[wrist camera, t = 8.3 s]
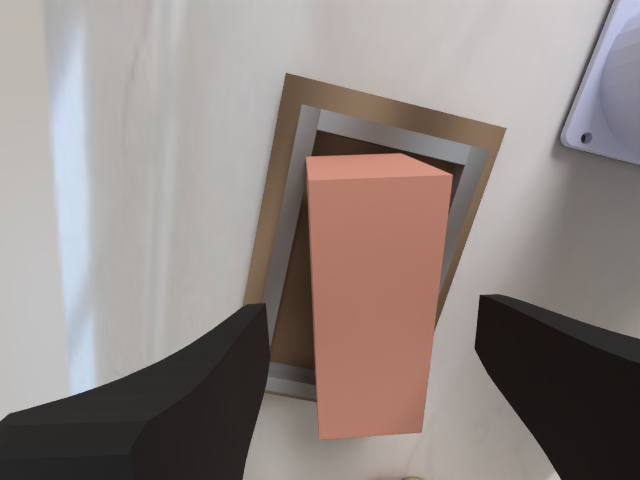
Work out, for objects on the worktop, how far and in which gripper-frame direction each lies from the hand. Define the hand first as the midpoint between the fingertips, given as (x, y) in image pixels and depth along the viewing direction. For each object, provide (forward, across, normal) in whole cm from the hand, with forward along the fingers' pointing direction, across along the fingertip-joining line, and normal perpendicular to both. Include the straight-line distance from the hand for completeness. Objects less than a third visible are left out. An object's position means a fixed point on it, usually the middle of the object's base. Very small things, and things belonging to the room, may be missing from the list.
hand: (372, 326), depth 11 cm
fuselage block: (+5, 0, 0) cm, 5 cm away
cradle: (+6, 0, 0) cm, 6 cm away
